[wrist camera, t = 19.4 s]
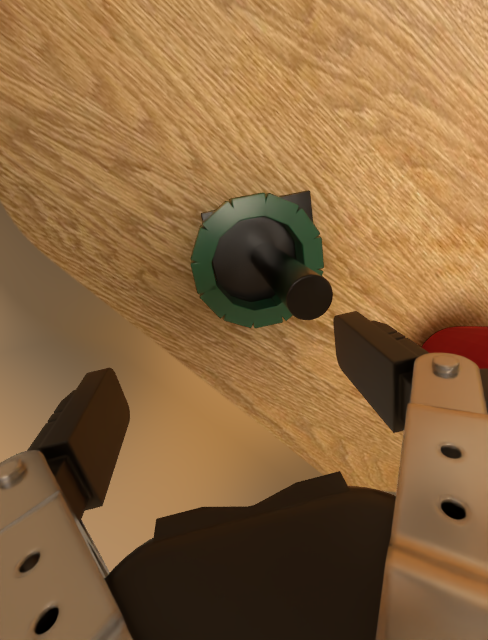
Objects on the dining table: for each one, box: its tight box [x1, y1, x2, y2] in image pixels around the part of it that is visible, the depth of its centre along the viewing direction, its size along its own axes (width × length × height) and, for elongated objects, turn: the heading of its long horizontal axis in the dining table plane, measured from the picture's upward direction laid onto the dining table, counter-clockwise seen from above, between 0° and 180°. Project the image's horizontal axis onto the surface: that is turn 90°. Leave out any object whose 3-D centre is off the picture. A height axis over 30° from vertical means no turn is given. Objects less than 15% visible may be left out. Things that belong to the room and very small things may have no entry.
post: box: [201, 191, 333, 320], centre depth 21 cm, size 9×9×13 cm
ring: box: [191, 193, 324, 328], centre depth 25 cm, size 10×10×2 cm
